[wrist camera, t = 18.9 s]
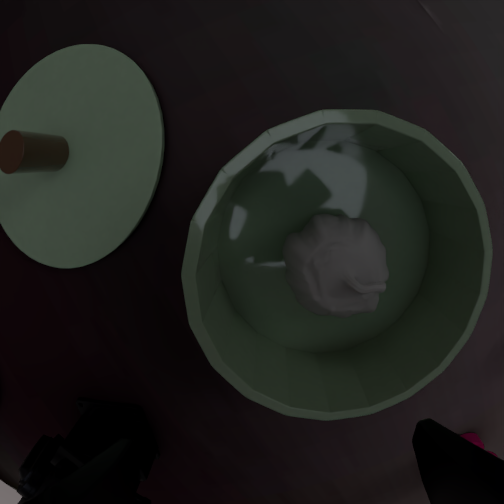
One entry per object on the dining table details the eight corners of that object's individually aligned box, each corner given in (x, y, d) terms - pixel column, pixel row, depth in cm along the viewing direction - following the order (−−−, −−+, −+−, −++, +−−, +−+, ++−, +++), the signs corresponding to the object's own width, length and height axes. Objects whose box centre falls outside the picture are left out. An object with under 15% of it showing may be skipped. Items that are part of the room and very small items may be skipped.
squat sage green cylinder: (224, 362, 21) (209, 426, 14) (198, 141, 17) (164, 124, 11) (423, 341, 20) (465, 392, 14) (429, 133, 17) (490, 121, 10)
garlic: (393, 246, 18) (433, 270, 13) (340, 316, 19) (362, 360, 14) (314, 186, 17) (333, 190, 12) (260, 264, 19) (258, 297, 13)
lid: (10, 269, 20) (-37, 290, 15) (-2, 88, 17) (-49, 78, 11) (180, 256, 19) (148, 287, 14) (163, 23, 16) (132, -19, 10)
